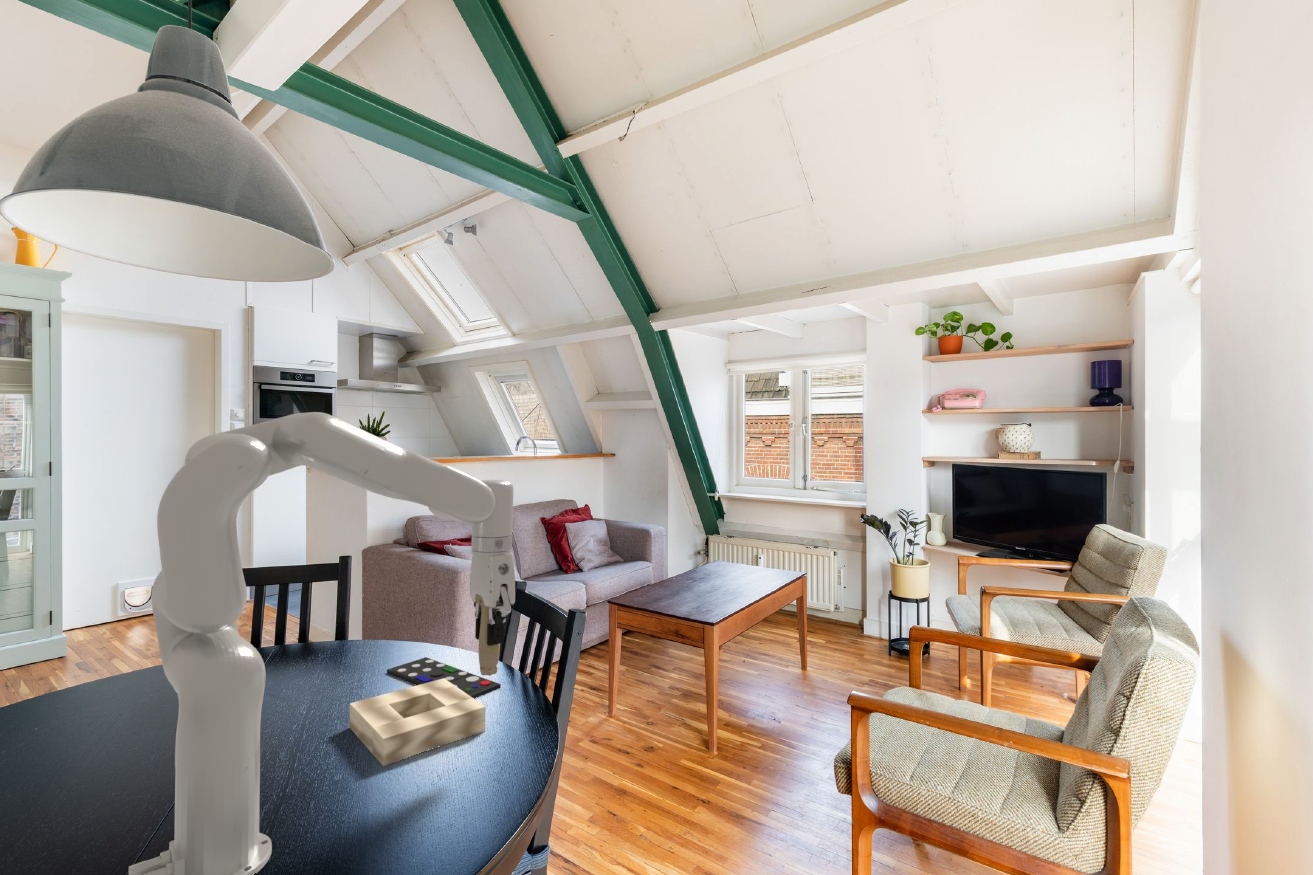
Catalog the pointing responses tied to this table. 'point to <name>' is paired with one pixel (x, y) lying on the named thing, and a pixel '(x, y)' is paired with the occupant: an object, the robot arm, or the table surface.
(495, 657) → the handle
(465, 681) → the remote control
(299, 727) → the table surface
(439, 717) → the socket block
